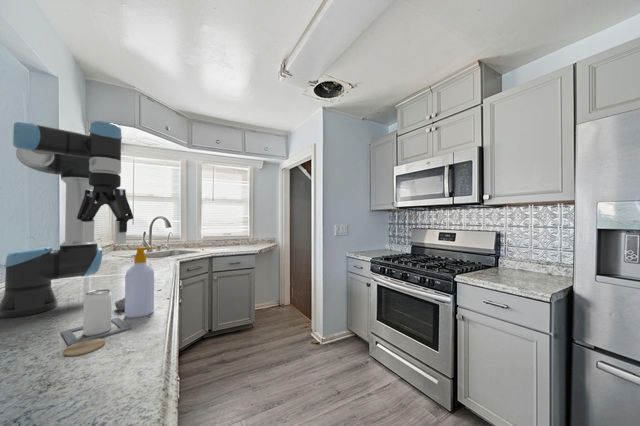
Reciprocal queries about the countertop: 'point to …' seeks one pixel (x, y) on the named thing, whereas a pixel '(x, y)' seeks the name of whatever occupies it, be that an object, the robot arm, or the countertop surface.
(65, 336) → the frame
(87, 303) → the can
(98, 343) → the coaster
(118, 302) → the stone
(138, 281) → the soap bottle
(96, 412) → the countertop surface
